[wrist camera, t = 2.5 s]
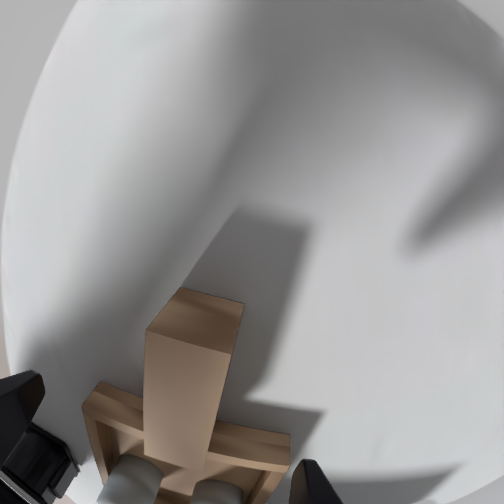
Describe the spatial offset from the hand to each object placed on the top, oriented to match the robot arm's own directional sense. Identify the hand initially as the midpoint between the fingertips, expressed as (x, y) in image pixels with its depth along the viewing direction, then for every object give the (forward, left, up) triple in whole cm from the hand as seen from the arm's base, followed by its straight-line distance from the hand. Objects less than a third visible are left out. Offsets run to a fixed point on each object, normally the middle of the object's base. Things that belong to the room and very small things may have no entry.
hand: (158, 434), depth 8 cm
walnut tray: (0, -8, -7) cm, 10 cm away
